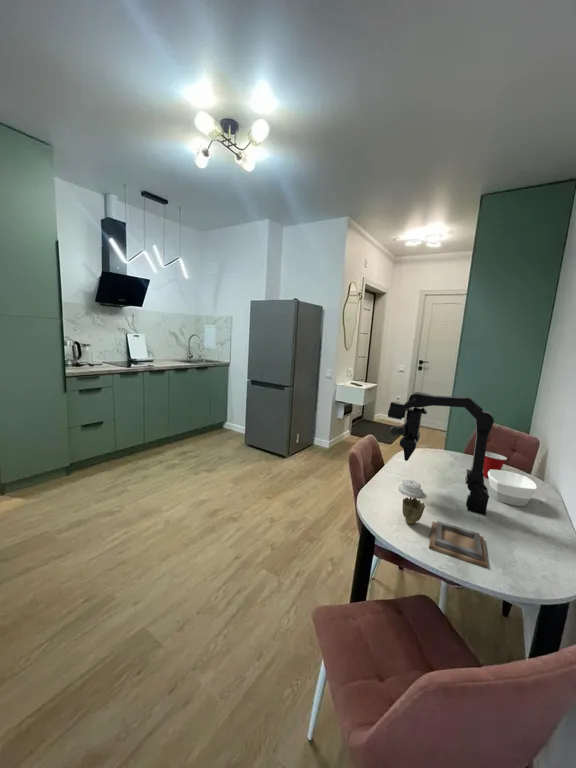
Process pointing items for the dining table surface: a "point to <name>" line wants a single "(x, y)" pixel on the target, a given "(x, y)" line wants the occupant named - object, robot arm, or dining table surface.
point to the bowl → (511, 487)
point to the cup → (412, 510)
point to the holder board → (458, 543)
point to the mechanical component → (411, 488)
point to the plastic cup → (492, 462)
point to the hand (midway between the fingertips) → (407, 457)
